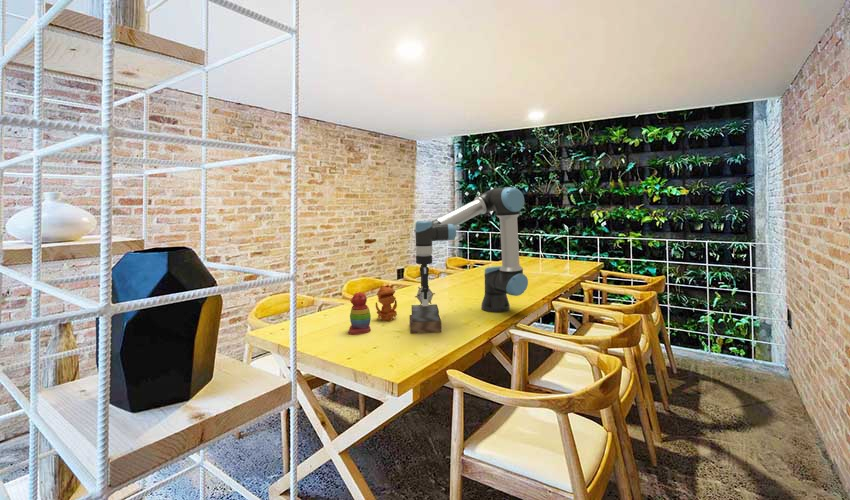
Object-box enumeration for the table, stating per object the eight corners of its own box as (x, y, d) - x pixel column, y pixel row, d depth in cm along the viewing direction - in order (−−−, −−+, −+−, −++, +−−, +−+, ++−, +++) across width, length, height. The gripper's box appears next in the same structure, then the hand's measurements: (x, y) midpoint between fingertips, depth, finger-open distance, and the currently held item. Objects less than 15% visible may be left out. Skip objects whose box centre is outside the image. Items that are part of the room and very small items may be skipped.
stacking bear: (349, 327, 205) (348, 290, 203) (371, 327, 206) (370, 290, 204) (347, 334, 194) (346, 295, 192) (370, 334, 195) (369, 295, 193)
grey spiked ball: (428, 312, 199) (432, 298, 192) (411, 305, 200) (414, 291, 194) (434, 299, 206) (438, 285, 199) (417, 292, 207) (421, 278, 200)
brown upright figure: (381, 323, 211) (380, 287, 209) (372, 318, 221) (371, 283, 219) (401, 320, 216) (401, 284, 214) (393, 315, 226) (392, 281, 224)
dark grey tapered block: (438, 324, 208) (438, 303, 207) (441, 332, 196) (441, 310, 194) (409, 325, 208) (409, 304, 206) (410, 333, 195) (409, 311, 194)
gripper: (414, 252, 208) (415, 298, 211) (416, 258, 186) (417, 309, 189) (430, 251, 209) (431, 297, 211) (434, 258, 187) (434, 309, 190)
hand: (424, 303), depth 200 cm, fingers closed on grey spiked ball, 9 cm apart
